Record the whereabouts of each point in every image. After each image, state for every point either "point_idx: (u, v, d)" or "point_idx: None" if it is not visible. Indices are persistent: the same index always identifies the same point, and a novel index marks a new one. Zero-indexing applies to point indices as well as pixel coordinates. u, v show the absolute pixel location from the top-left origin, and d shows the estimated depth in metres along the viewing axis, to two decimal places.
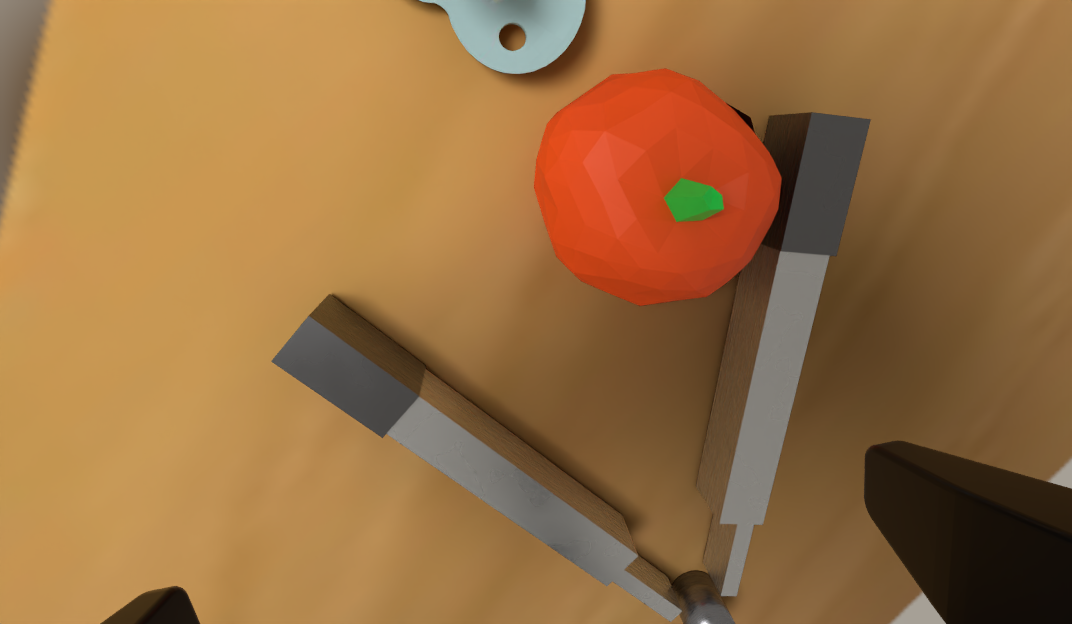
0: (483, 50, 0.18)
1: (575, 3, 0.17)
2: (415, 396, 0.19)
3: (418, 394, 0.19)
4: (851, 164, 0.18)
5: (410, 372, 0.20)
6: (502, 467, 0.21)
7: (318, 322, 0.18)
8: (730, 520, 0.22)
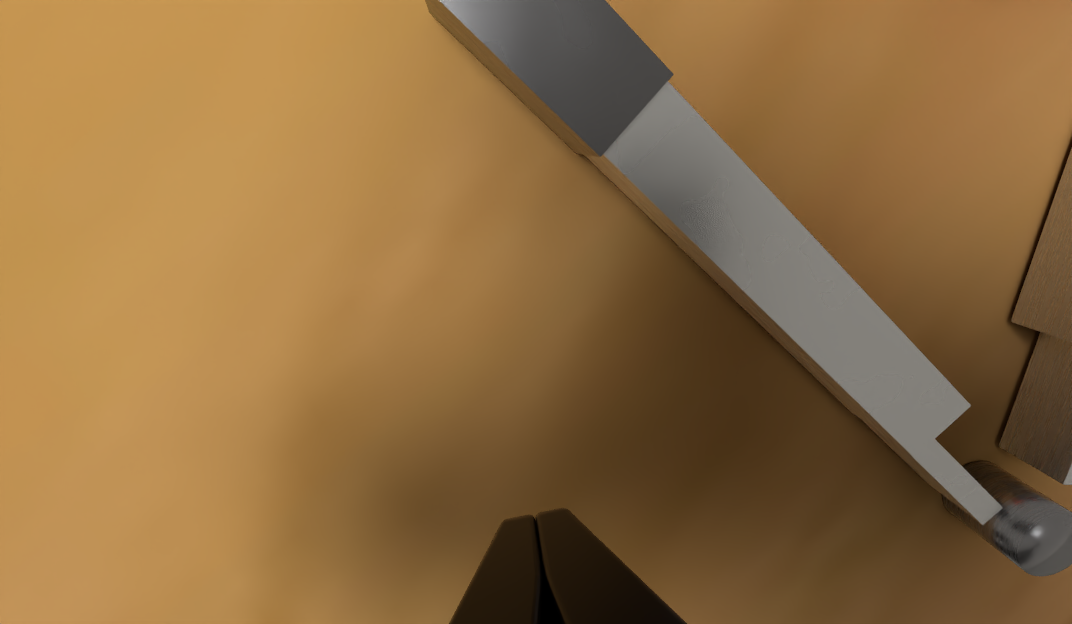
0: None
1: None
2: (666, 74, 0.11)
3: (670, 72, 0.11)
4: None
5: None
6: (787, 233, 0.12)
7: None
8: None
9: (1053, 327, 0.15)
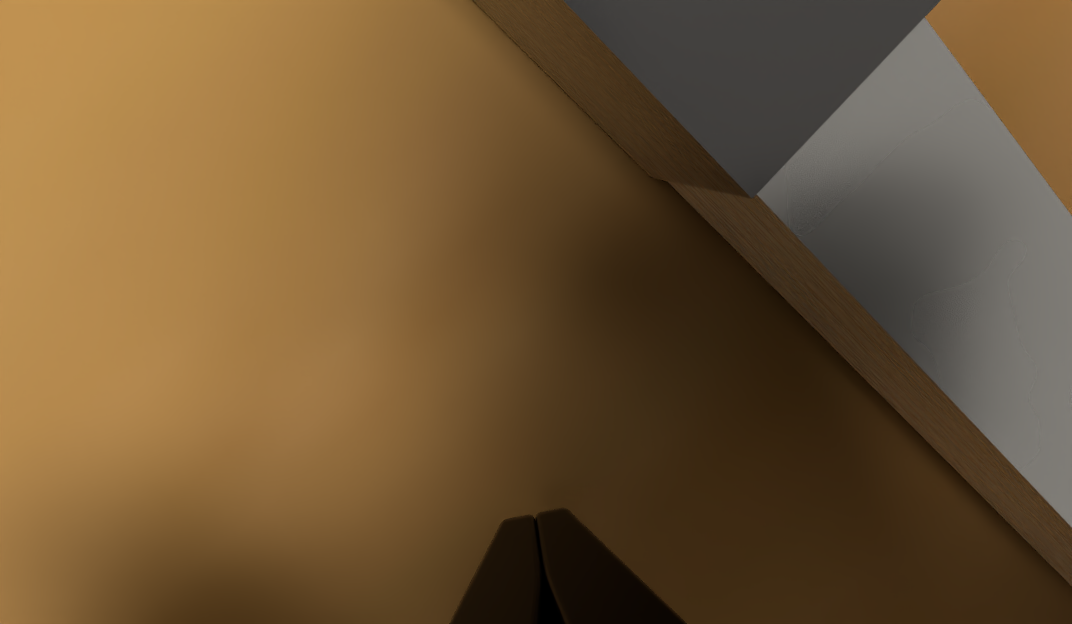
0: None
1: None
2: None
3: None
4: None
5: None
6: None
7: None
8: None
9: None
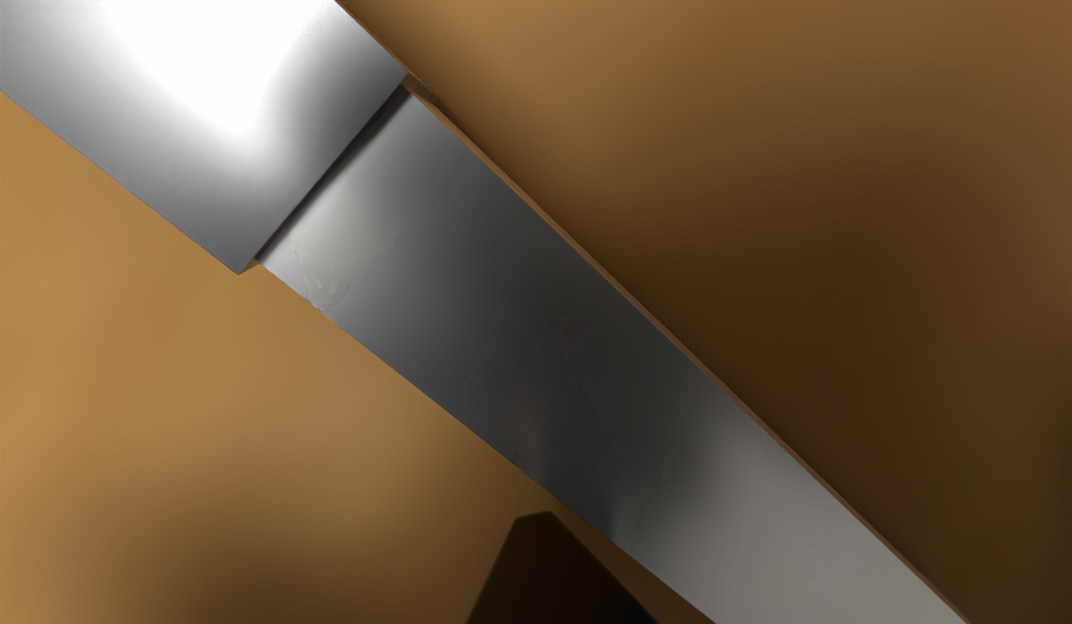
0: None
1: None
2: (389, 71, 0.04)
3: (404, 68, 0.04)
4: None
5: (379, 42, 0.05)
6: (720, 439, 0.05)
7: None
8: None
9: None
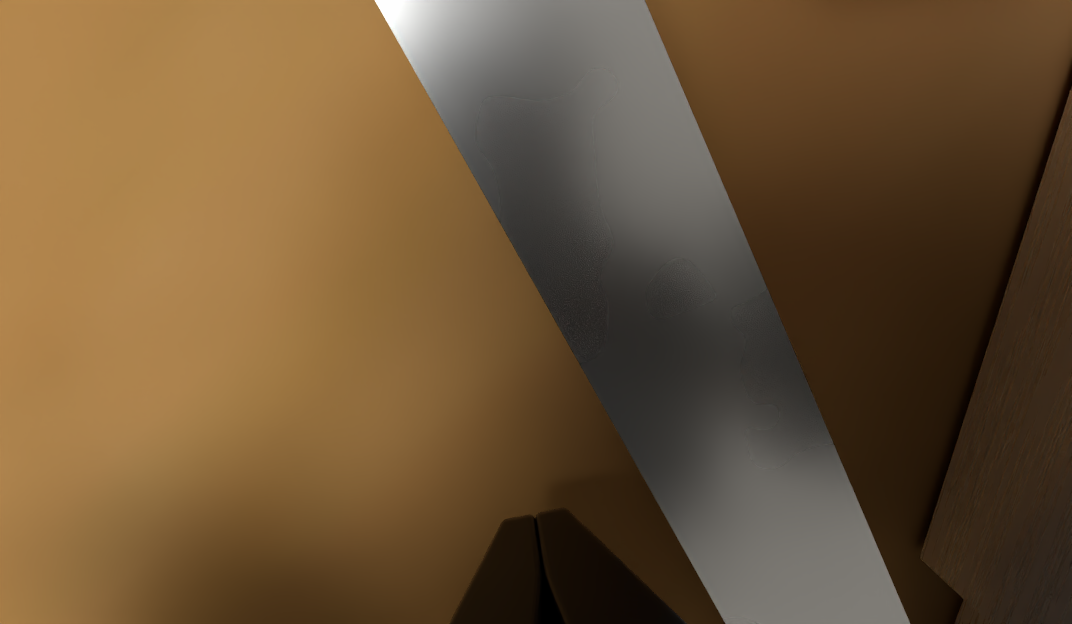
0: None
1: None
2: None
3: None
4: None
5: None
6: (716, 268, 0.05)
7: None
8: None
9: (983, 601, 0.08)
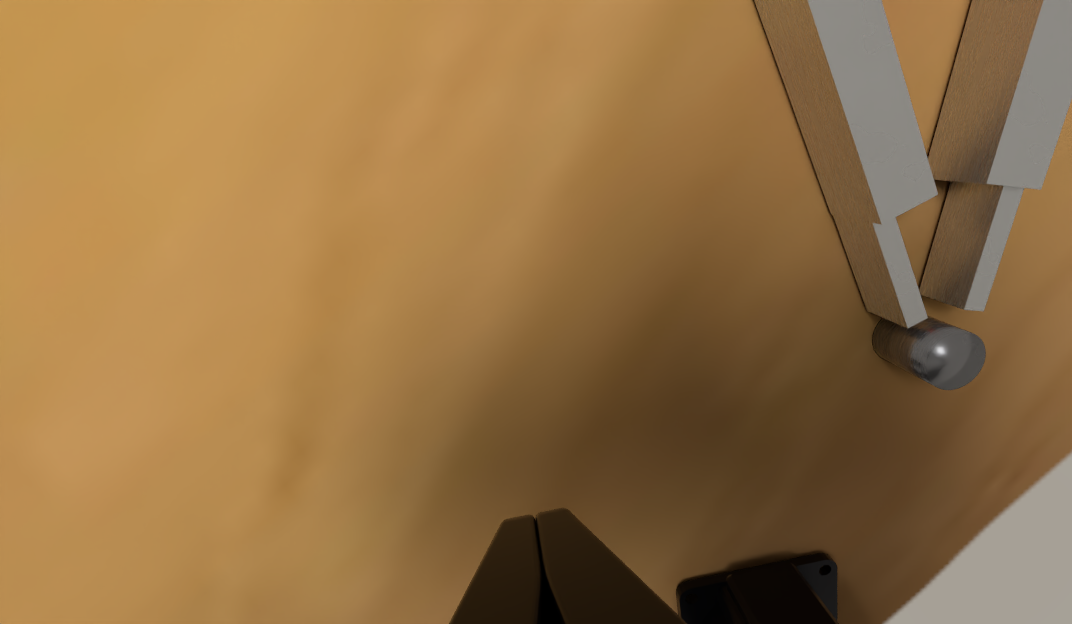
0: None
1: None
2: None
3: None
4: None
5: None
6: None
7: None
8: (1001, 179, 0.17)
9: (952, 173, 0.18)
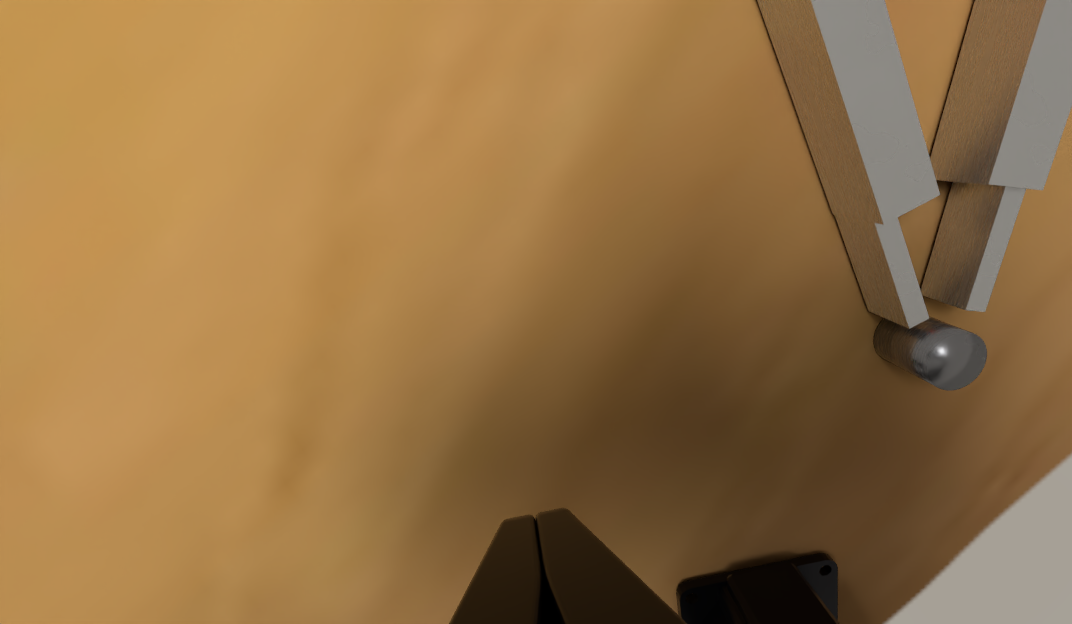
0: None
1: None
2: None
3: None
4: None
5: None
6: None
7: None
8: (1003, 179, 0.17)
9: (954, 174, 0.18)
